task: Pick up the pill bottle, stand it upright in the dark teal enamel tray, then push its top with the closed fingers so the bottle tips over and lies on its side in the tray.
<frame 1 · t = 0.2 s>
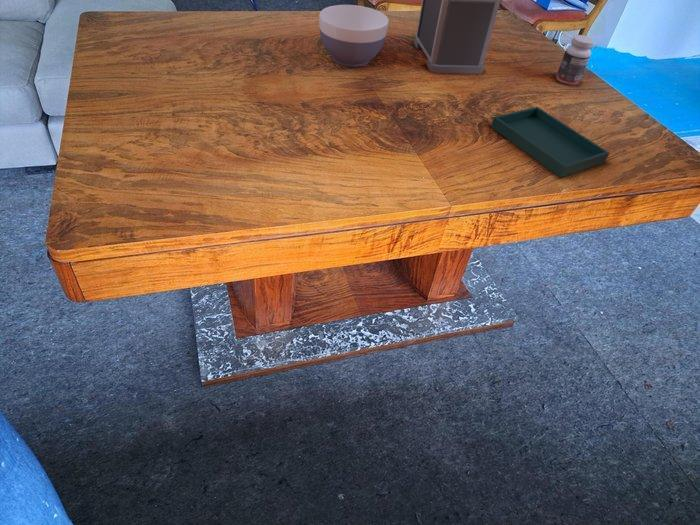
bowl: (350, 59, 122), on the table
tray: (545, 144, 101), on the table
pill bottle: (566, 80, 124), on the table
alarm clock: (446, 57, 128), on the table
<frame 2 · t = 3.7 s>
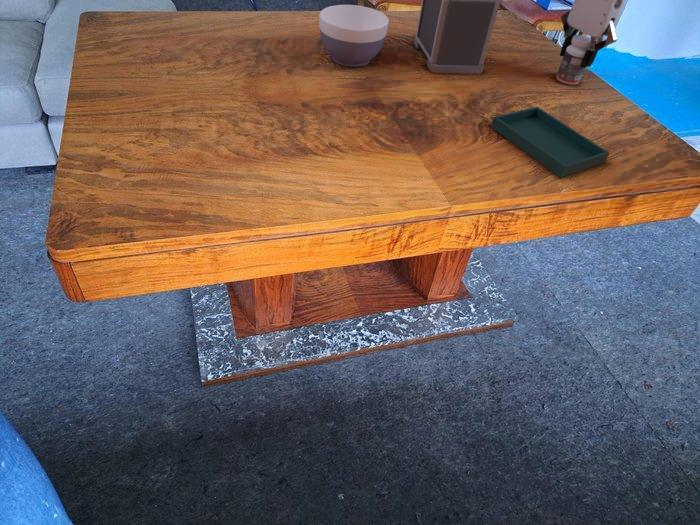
hand: (575, 60, 120), 5 cm above the table, tool pointing down, fingers closed on pill bottle, 5 cm apart
pill bottle: (566, 80, 124), on the table, touching gripper
everything else where it was.
when the fingers open (5 cm above the table, at t = 11.6 s): pill bottle stays where it is, resting on tray.
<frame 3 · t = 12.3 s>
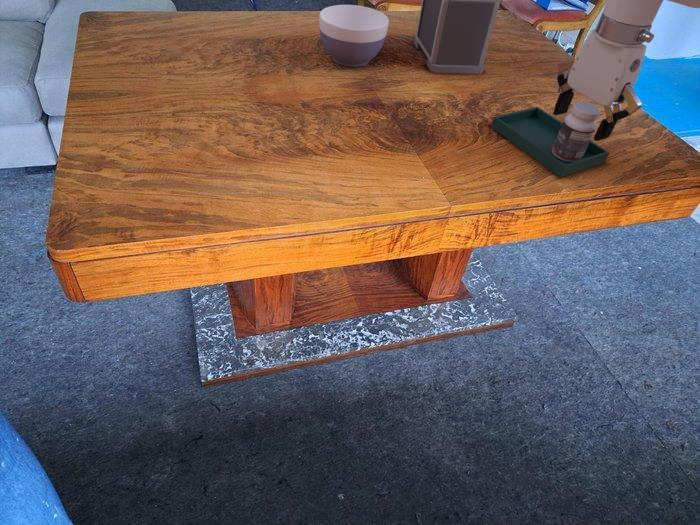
hand: (579, 126, 93), 7 cm above the table, tool pointing down, fingers open, 9 cm apart
pill bottle: (565, 156, 97), resting on tray
everything else where it was.
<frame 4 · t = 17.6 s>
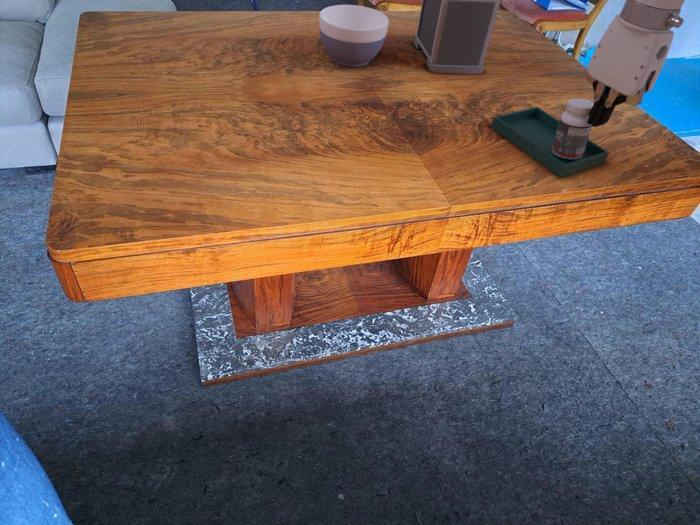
hand: (595, 123, 89), 9 cm above the table, tool pointing down, fingers closed
pill bottle: (566, 154, 97), point 1 cm above the table, touching gripper, tray
everything else where it was.
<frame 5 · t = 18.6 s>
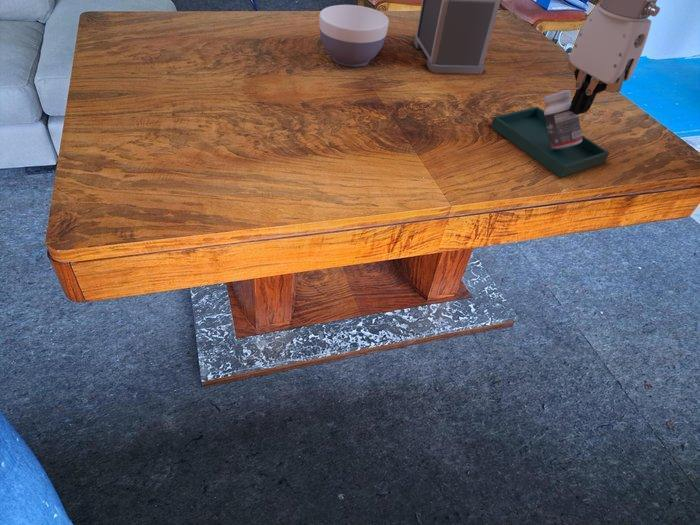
hand: (577, 111, 92), 9 cm above the table, tool pointing down, fingers closed
pill bottle: (567, 147, 96), point 2 cm above the table, touching tray
everything else where it was.
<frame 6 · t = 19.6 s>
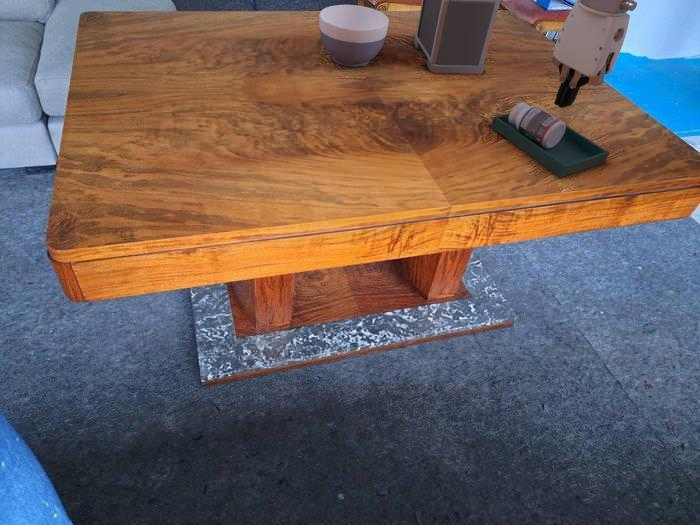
hand: (562, 104, 94), 9 cm above the table, tool pointing down, fingers closed
pill bottle: (556, 136, 96), point 3 cm above the table, touching tray
everything else where it was.
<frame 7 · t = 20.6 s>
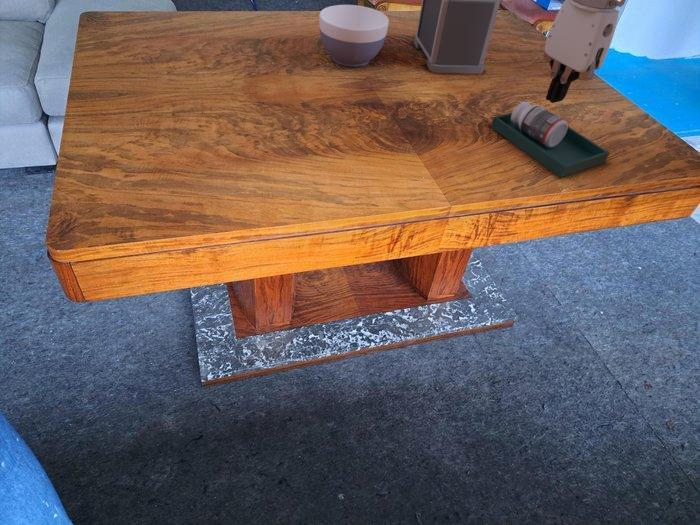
hand: (554, 99, 96), 9 cm above the table, tool pointing down, fingers closed
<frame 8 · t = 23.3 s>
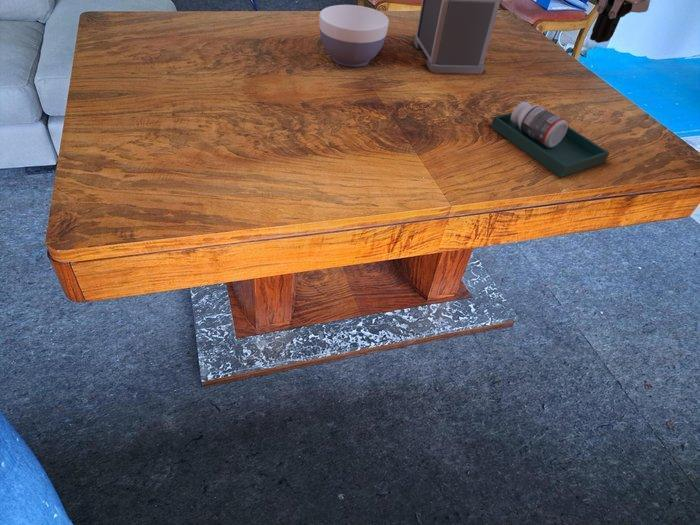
hand: (599, 40, 85), 21 cm above the table, tool pointing down, fingers closed
nothing on the table moved.
at the end: pill bottle tilted 90°; pill bottle inside the target area on the tray (2.5 cm from its centre), point 3.4 cm above the tray's base; the gripper is holding nothing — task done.
